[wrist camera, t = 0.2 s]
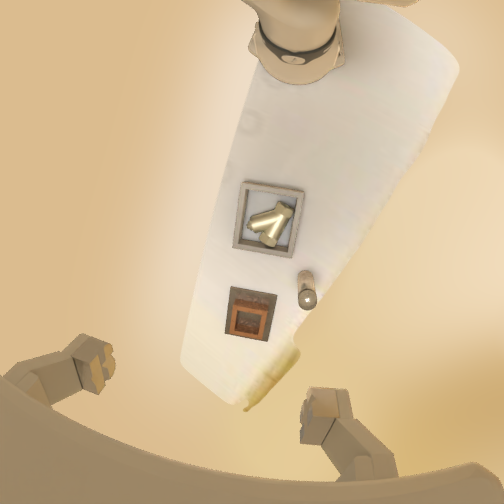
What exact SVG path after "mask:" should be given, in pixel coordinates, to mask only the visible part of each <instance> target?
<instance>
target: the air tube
mask: <svg viewBox="0 0 504 504" xmlns="http://www.w3.org/2000/svg"><path fill="white" fill-rule="evenodd" d="M298 301H299V306H300V307H301V308H302V309H304V310H311V309H313V308H314V307H315V306H316V304H317V296H316V292H315V286H314V280H313V275H312V273H311V272H309V271H306V270H305V271H301V272H300V273H299V274H298Z"/></svg>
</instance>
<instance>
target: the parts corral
mask: <svg viewBox="0 0 504 504" xmlns="http://www.w3.org/2000/svg"><path fill="white" fill-rule="evenodd" d="M248 189H249V190H256V191H262V192H268V193H274V194H280V195H285V196H291V197H296V198H297V200H296V206H295V211H294V217H293V223H292V228H291V233H290V239H289V244H288V247H283V246H278V245H275V247H271V246H268V245H266V244H264V243H261V242H255V241H249V240H244V239H241V236H242V229H243V222H244V215H245V208H246V201H247V194H248ZM303 197H304V192H303V191H298V190H293V189H287V188H281V187H276V186H270V185H263V184H257V183H251V182H242V183H241V187H240V195H239V202H238V209H237V216H236V224H235V231H234V239H233V246H232V248H236V249H241V250H247V251H253V252H258V253H264V254H269V255H275V256H280V257H286V258H292V256H293V251H294V245H295V240H296V235H297V230H298V225H299V219H300V214H301V208H302V203H303Z"/></svg>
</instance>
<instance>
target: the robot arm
mask: <svg viewBox="0 0 504 504" xmlns="http://www.w3.org/2000/svg"><path fill="white" fill-rule="evenodd" d="M242 1H243V2H245V3H246V4H248V5H249V6H250V7H252V8H253V9H254V10H255V11H256V12H257V15H258V17H259V22H256V25H255V28H256V29H255V32H254V34H253V36H252V38H251V41H250V43H249V46H248V49H249V51H250V52H251V53H252V54H253V55H254V56H256V57H257V58H259V60H260V61H261V63H262V65H263V66H264V68H265V69H266V70H267V72H268V73H269V74H271V75H272V76H273V77H275V78H276V79H278V80H280V81H282V82H285V83H289V84H296V85H302V84H309V83H312V82H315V81H317V80H319V79H321V78H322V77H324V76H325V75H326V74H327V73H328V72H329V71H330V70H332V69H335V68H338V67H340V66H342V65H343V64H344V62H345V57H344V50H343V42H342V36H341V29H340V23H339V18H338V17H339V13H340V2H339V0H242ZM357 1H361V2H370V3H377V4H384V5H392V6H399V7H408V6H410V5H412V4H414V3H416V2H418V1H419V0H357ZM338 54H339V55H340V56H338ZM112 352H113V348H112V345H111V344H110V343H107V342H104V341H101V340H99V339H97V338H94V337H90V336H88V335H86V334H80V335H79V336H78V337H76V338H75V339H74V340H73V341H72V342H71V343H70V344H69V345H68V346H67V347H66V348H65V349H64V350H63V351H62V352H59V351H58V352H54V353H51V354H47V355H43V356H40V357H36V358H33V359H29V360H26V361H22V362H18V363H17V364H15V365H14V366H13V367H12V368H11V369H10V370H9V371H8V372H7V373H6V374H5V375H4V376H3V377H2V376H1V375H0V504H504V489H503V486H502V484H501V482H500V480H499V478H498V477H497V476H496V475H494V474H493V473H492V472H490V471H489V470H487V469H486V468H485V467H483V466H482V465H480V464H478V463H476V462H470V463H465V464H462V465H458V466H454V467H450V468H446V469H441V470H437V471H432V472H427V473H422V474H416V475H411V476H404V477H399V476H398V472H397V468H396V463H395V459H394V455H393V453H392V452H391V451H390V450H389V449H388V448H387V447H386V446H385V445H384V444H383V443H382V442H381V441H379V440H378V439H377V438H376V437H375V436H374V435H373V434H372V433H371V432H370V431H369V430H368V429H367V428H366V427H365V426H364V425H363V424H362V423H361V422H360V421H359V420H357V419H353V413H352V408H351V403H350V398H349V393H348V390H347V389H336V388H335V389H334V388H321V387H309V389H308V391H307V399H306V400H304V402H303V405H302V408H301V414H300V423H301V424H302V427H301V430H300V443H301V444H311V445H321V447H322V449H323V450H324V451H325V453H326V454H327V456H328V457H329V459H330V460H331V461H332V463H333V464H334V466H335V467H336V468H337V470H338V471H339V473H340V474H341V476H340V477H339V478H338V479H337V480H336V481H335V482H311V481H291V480H278V479H269V478H260V477H253V476H246V475H239V474H233V473H227V472H222V471H217V470H212V469H207V468H203V467H199V466H195V465H191V464H186V463H183V462H179V461H176V460H172V459H169V458H165V457H162V456H159V455H156V454H153V453H150V452H147V451H144V450H141V449H138V448H135V447H132V446H130V445H127V444H124V443H122V442H120V441H117V440H115V439H112V438H110V437H108V436H105V435H103V434H100V433H98V432H96V431H94V430H92V429H90V428H87V427H86V426H83V425H81V424H79V423H77V422H75V421H73V420H71V419H69V418H68V417H66V416H64V415H62V414H60V413H58V412H57V411H55V410H53V409H52V406H51V405H52V404H54V403H56V402H59V401H61V400H63V399H65V398H67V397H69V396H71V395H73V394H75V393H77V392H79V391H81V390H82V389H84V390H87V391H89V392H92V393H94V394H97V395H99V394H100V392H101V391H102V389H103V388H104V387H105V381H106V380H109V379H111V377H112V376H113V374H114V371H115V359H114V358H113V356H112V355H111V354H112Z"/></svg>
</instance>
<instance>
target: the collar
mask: <svg viewBox="0 0 504 504" xmlns="http://www.w3.org/2000/svg"><path fill="white" fill-rule="evenodd" d="M276 299H277V295H274V294H269V293H263V292H258V291H253V290H247V289H242V288H237V287H232V286H231V288H230V295H229V303H228V311H227V319H226V327H225V334H230V335H235V336H240V337H245V338H250V339H255V340H261V341H266V342H267V341H268V337H269V332H270V328H271V323H272V318H273V314H274V309H275V304H276Z"/></svg>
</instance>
